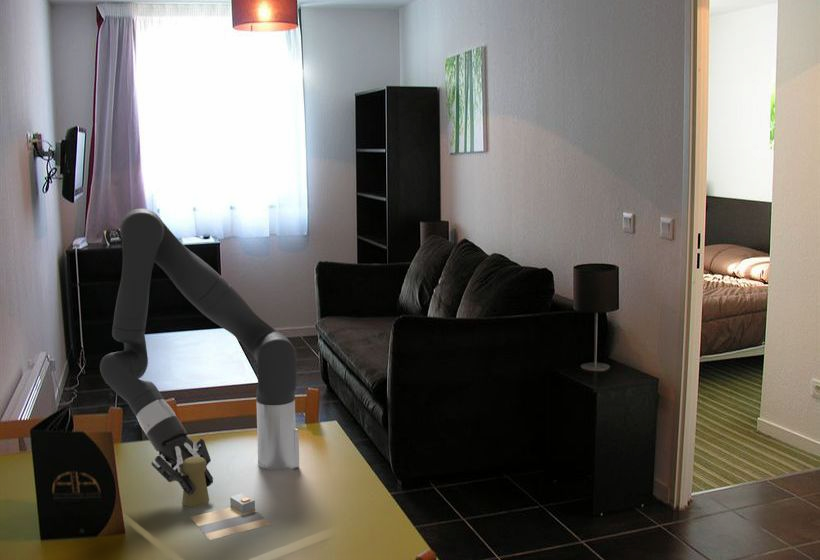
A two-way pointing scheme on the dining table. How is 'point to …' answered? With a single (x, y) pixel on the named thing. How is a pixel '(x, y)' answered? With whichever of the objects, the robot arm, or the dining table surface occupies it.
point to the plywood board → (228, 522)
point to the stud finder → (242, 503)
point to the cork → (196, 481)
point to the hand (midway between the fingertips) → (201, 488)
